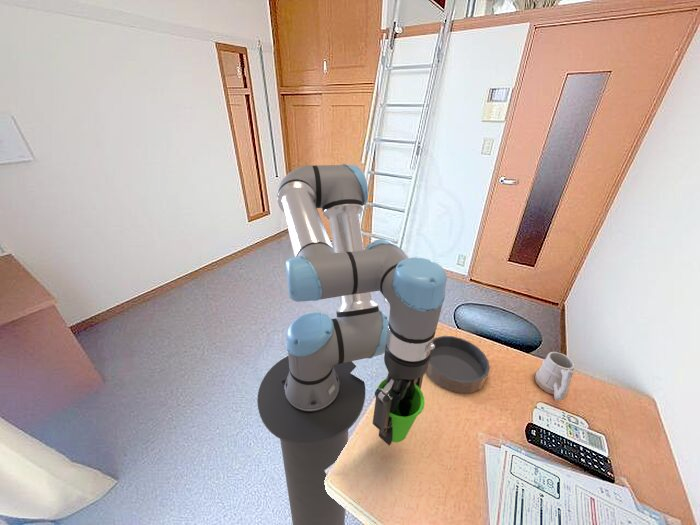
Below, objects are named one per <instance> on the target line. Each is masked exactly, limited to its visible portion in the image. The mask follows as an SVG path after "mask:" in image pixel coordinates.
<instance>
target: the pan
mask: <svg viewBox="0 0 700 525" xmlns="http://www.w3.org/2000/svg"><path fill="white" fill-rule="evenodd" d="M433 344H434V345H435V348H434V349H433V350H431V353H430V359H429V364H428V368H427V371H426V374H427V376H428V377H429V378H430V379H431V380H432V381H433V382H434V383H435V384H436V385H438V386H439V387H441V388H443V389H445V390H446V391H449V392H451V393H456V394H473V393H476V392H478V391H479V390H481V389H482V387H483V386H485V384H486V380H487V377H488V374H489V371H490V368H491V367H490V362H489V360H488V358H487V356H486V354H485V353H484V351H482V350H481V349H480V347H478V346H477V345H475V344H474V343H472V342H471V341H469V340H467V339H465V338H464V339H463V338H462V337H457V336H452V335H442V336H437V337H434V340H433Z"/></svg>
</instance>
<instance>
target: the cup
mask: <svg viewBox="0 0 700 525" xmlns="http://www.w3.org/2000/svg"><path fill="white" fill-rule="evenodd" d="M385 386H386V378H385V379H383V380H382V381H381V382H380V383H379V384H378V386H377V388H376V390H377V389H378V388H379V389H383V388H384V387H385ZM410 402H411V403H412V405H411V409H410V412H409V415H408V416H406V417H404V416H401V414H400V412H399V408H397V411H396V414H395V415H394V414H392V413H390V414H389V417H392V426H391V427H393V438H392V443H401V442H403V441H404V440H405V439H406V438H407V436H408V434H409V432H410V430H411V428H412V426H413V424H414V423H415V420H416V419H417V417H418V416H419V415H420V414H421V413H422V412H423V411H424V407H425V396H424V394H423V391H422V390H420V388H419V387H418V386H417V385H416V384H415V393H414V396H413V400H410Z"/></svg>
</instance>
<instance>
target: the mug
mask: <svg viewBox="0 0 700 525" xmlns="http://www.w3.org/2000/svg"><path fill="white" fill-rule="evenodd" d="M575 368H576V363H575V362H574V360H573V359H572V358H571V357H569V356H568V355H566V354H564V353H563V352H562V353H561V352H557V351H550V352H549V353H548V354H547V355H546V358H544V359H543V360H542V363H541V366H540V368H539V369H538V370H536V372H535V377H534V380H535V384H536V385H537V386H538V387H539V388H540V389H541V390H542V391H544V392H545V393H548V394H550V395H553V398H554V401H555V402H560V401H563V400H564V399H565V398H566V396H567V395H568V391H569V388H570V385H571V382H572V378H573V376H574V374H575V371H574V370H575Z"/></svg>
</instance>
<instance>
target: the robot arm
mask: <svg viewBox="0 0 700 525" xmlns="http://www.w3.org/2000/svg"><path fill="white" fill-rule="evenodd" d="M276 190H277V192H276V199H277V205H278V207H279V209H280V210H281V211H282V213H284V217H285V221H286V222H285V223H286V227H287V231H288V235H289V240H290V245H291V249H292V255H293V257H290V258H288V259H287V260H286V261H285V271H286V272H285V273H286V283H287V289H288V290H287V291H288V295H289V298H290V299H291V300H292V301H293V302H295V303H296V302H298V303H300V302H317V301H319V300H320V301H321V300H327V299H332V298H339V300H340V301H339V302H340V304H339V306H338V308H337V309H336V311H335V312H336V313H335V314H336V318H331V317H330V316H329V315H327V314H326V313H321V312H319V311H316V312H314V311H313V312H308V313H305V314H302V315H300V316H298V317H296V319H294V320H293V322H292V323H291V324H289V327H288V329H287V332H286V342H285V345H286V346H285V347H286V350H287V356H288V357H289V369H290V371H289V374H288V377H287V378H285V379H283V380H282V383H283V382H285V381H286V383H285V396H286V399H287V401H288V403H289V404H290V405H291V406H292V407H293V408H294V409H296V410H298V411H300V412H304V413H316V412H320V411H322V410H324V409H326V408H328V407H329V406H330V405H332V404H333V403H334V401H335V400H336V398H337V396H338V394H339V378H338V375H337V373H336V371H335V369H334V367H333V365H336V364H341V363H346V362H350V361H352V362H354V361H355V362H356V361H360V360H365V359H372V358H374V357H378V356H382V355H383V354H384V355H383V356H384V357H383V361H384V365H385V367H386V369H387V372H388V373H387V376H386V378H385V379H386V386H385V387H384V388H383V389H379V388H378V387H377V388H378V389H377V388H376V389H375V391H374V396H375V400H374V402H375V403H374V410H373V416H372V425H373V426H374V427H375V428H377V430H378V438H380V439H381V440H382V441H383V442H384V443H385V444H386V445H387V446H391V445H392V443H393V442H392V438H393V427H391V426H392V417H389V414H390V413H392V414H394V415H395V414H396V411H397V408H399V412H400V414H401V416H404V417H406V416H408V415H409V412H410V409H411V405H412V403H411V402H410V400H413V396H414V393H415V384H416V385H417V386H418V387H419V388H420V390H421V389H422V384H423V380H424V375H425V374H427V372H426V371H427V368H428V364H429V359H430V353H431V350H433V349H434V348H435V345H434V344H433V340H434V338H435V335H436V331H437V328H438V324H439V321H440V316H441V310H442V308H443V304H444V301H445V299H446V287H447V281H448V280H447V279H448V274H447V272H446V270H445V269H444V267H443V266H442V265H441V264H439V263H438V262H434V261H431V259H429V258H424V257H409V256H408V255H407V254H406V252H405V251H404V250H403V249H402V248H401V247H399V246H398V245H396V244H395V243H393V242H392V241H391V240H388V239H382V238H381V239H376V240H374V241H372V242H371V243H368V244H367V245H366V246H365V245H364V240H363V233H362V227H361V219H360V215H361V214H362V212H363V211H364V206H365V205H366V204H367V203H368V199H369V193H368V192H369V186H368V181H367V178H366V175H365V172H364V170H362V168H360V167H359V166H358V165H355V164H346V163H342V164H324V165H323V164H321V165H320V164H319V165H317V164H315V165H311V164H310V165H303V166H299V167H296V168H294V169H293V170H291V171H290V172H288V173H287V174H286V175H285V176H284V177H283V178H282V180H281V181H280V183H279V184H278V187H277V189H276ZM318 209H322V215H323V216H324V217H325V218H326V219H327V220H328V221H329V230H330V235H331V236H330V237H331V239H330V237H329V234H328V232H327V229H326V227H325V225H324V222H323V220H322V218H321V215H320V213H319V210H318ZM364 246H365V247H364ZM374 292H380V293H381V295H382V296H383V297H384V299H385V300H386V301H387V302H388V304H389V317H388V315H387V314H386V312H385V311H383V310H380V308H379V304H378V303H377V302H375V301H374V300H373V298H372V293H374ZM421 391H422V390H421Z"/></svg>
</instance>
